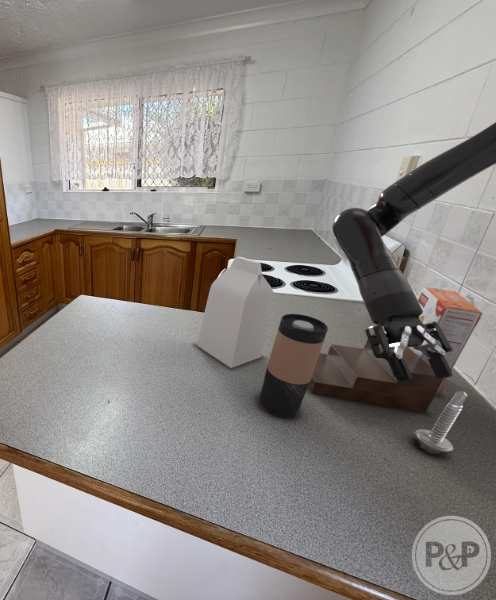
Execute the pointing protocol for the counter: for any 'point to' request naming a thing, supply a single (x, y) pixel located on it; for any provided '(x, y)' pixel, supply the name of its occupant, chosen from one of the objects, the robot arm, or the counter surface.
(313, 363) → the travel mug
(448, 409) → the screw
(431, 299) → the cracker box
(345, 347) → the shelf stand
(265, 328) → the milk
